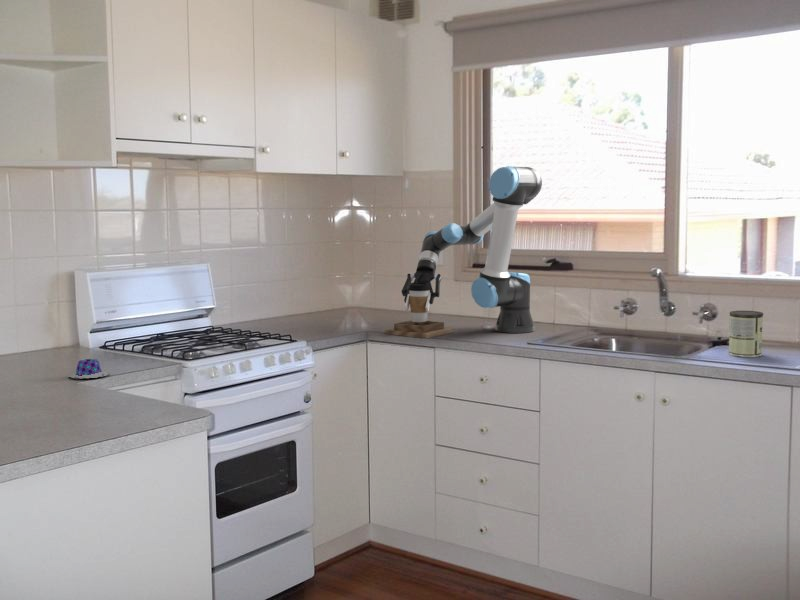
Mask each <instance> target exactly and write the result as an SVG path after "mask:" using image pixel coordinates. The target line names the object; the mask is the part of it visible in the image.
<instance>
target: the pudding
mask: <svg viewBox="0 0 800 600" xmlns="http://www.w3.org/2000/svg"><path fill="white" fill-rule="evenodd" d="M99 372H102V367H101V365H100V362H99V360H98V359H96V358H95V359H94V358H87V359H82V360H79V361H77V365H76V370H75V373H76V374H75V375H78V376H82V375H91V374H95V373H99Z"/></svg>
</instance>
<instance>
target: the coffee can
mask: <svg viewBox="0 0 800 600" xmlns="http://www.w3.org/2000/svg"><path fill="white" fill-rule="evenodd" d="M763 316H764V312H761V311H757V310H732V311H729V339H728V355H729V356H732V355H733V356H732V357H737V356H741V357H740V358H758V357H759V356H760V357H761V356H763V355H762V353H763V351H762V350H763V349H762V346H763V322H764V321H763V318H764V317H763Z"/></svg>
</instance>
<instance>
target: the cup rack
mask: <svg viewBox="0 0 800 600" xmlns="http://www.w3.org/2000/svg"><path fill="white" fill-rule="evenodd" d="M451 333H454V328H452V327H445V322H444V321H435V320H427V321H426V322H412V319H411V320H406V321H401V322H396V323H394V324H393V328H389V329H384V334H385V335H391V336H392V335H394V336H402V337H413V338H422V339H429V338H434V337H439V336H443V335H447V334H451Z"/></svg>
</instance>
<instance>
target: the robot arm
mask: <svg viewBox="0 0 800 600" xmlns="http://www.w3.org/2000/svg"><path fill="white" fill-rule="evenodd" d="M542 186H543V180H542V176H541V174H540V173H539V172H538V171H537V170H536V169H534V168H532V167H531V166H530V167H529V166H512V165H511V166H509V165H507V166H502V167H498V168H497V169H496V170H494V171H493V173H492V174H491V175H490V178H489V182H488V189H489V192H490V195H492V202H493V203H492V204H490V205H489V206H488V207H487V208H485V209H484V210H483V211H482V212H481V213H480V214H479V215H477V216H475V217H474V219H472V220H471V221H469V222H468V224H466V225H465V226H464V225H463V226H460V224H457V223H456V222H451V223H449V224H447V225H445V226H444V227H443V228H440V230H438V231H435V230H434V231H433V230H432V231H428V232H427V233H425V235H424V238H423V241H422V244H421V245H422V246H421V248H420V253H419V258H418V263H417V266H416V271H415V272H414V273H413V274H411V273H407V278H406V281H405V282H404V285H403V287H402V289H401V295H402V296H403V297H404V299H403V301H404V309H405V311H406V312H409V310H410V299H409V295H410V293H409V290H408V288H409V285H410V283H414V282H425V283H428V285H429V288H430V290H429V293H430V294H428V298H427V302H426V307H425V308H426V311H427V313H429V311H430V306H431V305H433V303H434V300H435V298H439V297H440V287H441V286H440V285H441V281H442V276H441V274H440V273H437V274H435V273H436V271H437V270H436V269H437V265H438V262H439V256H440V253H441V252H442V251H444V250H446V249H447V248H449V247H450V246H451V247H452V246H463V245H465V246H466V245H467V246H469V245H471V246H472V245H476V244H479V243H481V242H482V241H483V239H484V237H485V234H487V233H488V232H490V237H489V240H488V241H489V243H488V247H487V253H486V260H485V265H484V267H483V268H482V269H480V271H479V277H478V278H475V280H474V281H473V282H472V284H471V288H470V292H471V296H472V299H473V301H474V303H476V305H478V307H480V308H483V309H493V308H500V309H499V314H498V316H497V319H496V322H495V331H496V332H500V333H505V334H507V333H510V334H522V333H523V334H524V333H525V334H526V333H530V332H531V333H532V332H534V331H535V323H534V320H533V317H532V314H531V306H530V305H531V279H530V278H531V277H530V275H529V274H528V273H522V272H510V271H508V269H509V264H510V258H511V252H512V247H513V240H514V234H515V230H516V225H517V218H518V214H519V209H520V208H522V207H524V205H528V204H529V203H531V201H533V200H534V199H535V198H536V197H537V196H538V195H539V194H540V192H541V190H542V188H543V187H542ZM413 279H414V280H413ZM433 280H435V287H434V289H435V291H434V289H433V286H432V281H433Z"/></svg>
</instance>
